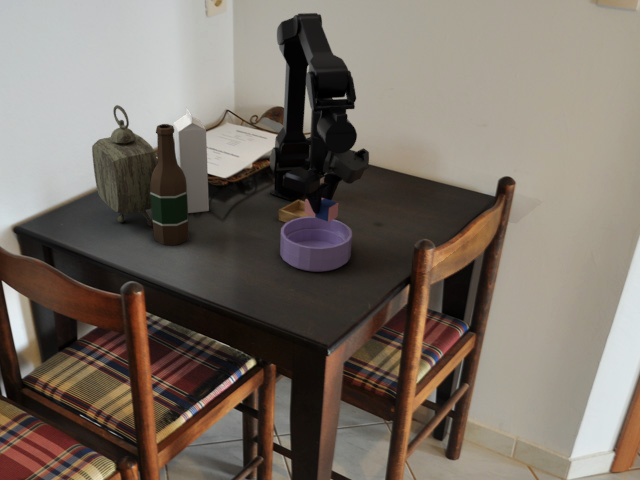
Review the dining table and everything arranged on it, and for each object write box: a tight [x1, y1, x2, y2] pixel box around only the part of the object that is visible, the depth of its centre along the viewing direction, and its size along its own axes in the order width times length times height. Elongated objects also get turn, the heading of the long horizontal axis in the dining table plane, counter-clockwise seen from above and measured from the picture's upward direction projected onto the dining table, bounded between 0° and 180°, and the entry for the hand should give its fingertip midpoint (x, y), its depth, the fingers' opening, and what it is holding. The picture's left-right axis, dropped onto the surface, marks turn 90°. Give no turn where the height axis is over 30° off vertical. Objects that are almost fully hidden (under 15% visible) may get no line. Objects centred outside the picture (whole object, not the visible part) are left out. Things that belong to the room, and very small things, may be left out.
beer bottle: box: [150, 123, 190, 246], centre depth 153 cm, size 8×8×24 cm
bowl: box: [279, 216, 353, 273], centre depth 153 cm, size 14×14×6 cm
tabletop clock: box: [91, 104, 158, 227], centre depth 159 cm, size 14×9×25 cm, turn 33°
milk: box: [173, 107, 210, 214], centre depth 166 cm, size 6×6×22 cm
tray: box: [278, 199, 311, 223], centre depth 167 cm, size 10×7×2 cm
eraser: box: [304, 198, 339, 222], centre depth 150 cm, size 6×3×3 cm, turn 52°
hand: (321, 210), depth 150 cm, fingers closed on eraser, 3 cm apart
